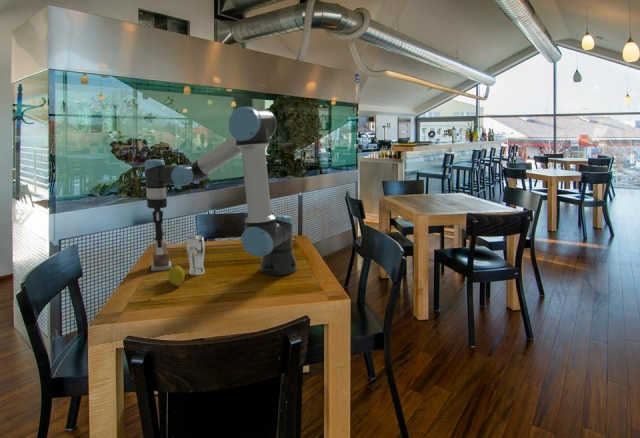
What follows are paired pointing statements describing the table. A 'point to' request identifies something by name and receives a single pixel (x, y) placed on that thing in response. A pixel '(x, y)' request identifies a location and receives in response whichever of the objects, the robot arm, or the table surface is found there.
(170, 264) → the slate picture frame
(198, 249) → the beer glass
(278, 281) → the table surface
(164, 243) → the terracotta cube
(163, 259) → the walnut block
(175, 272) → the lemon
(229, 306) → the table surface
